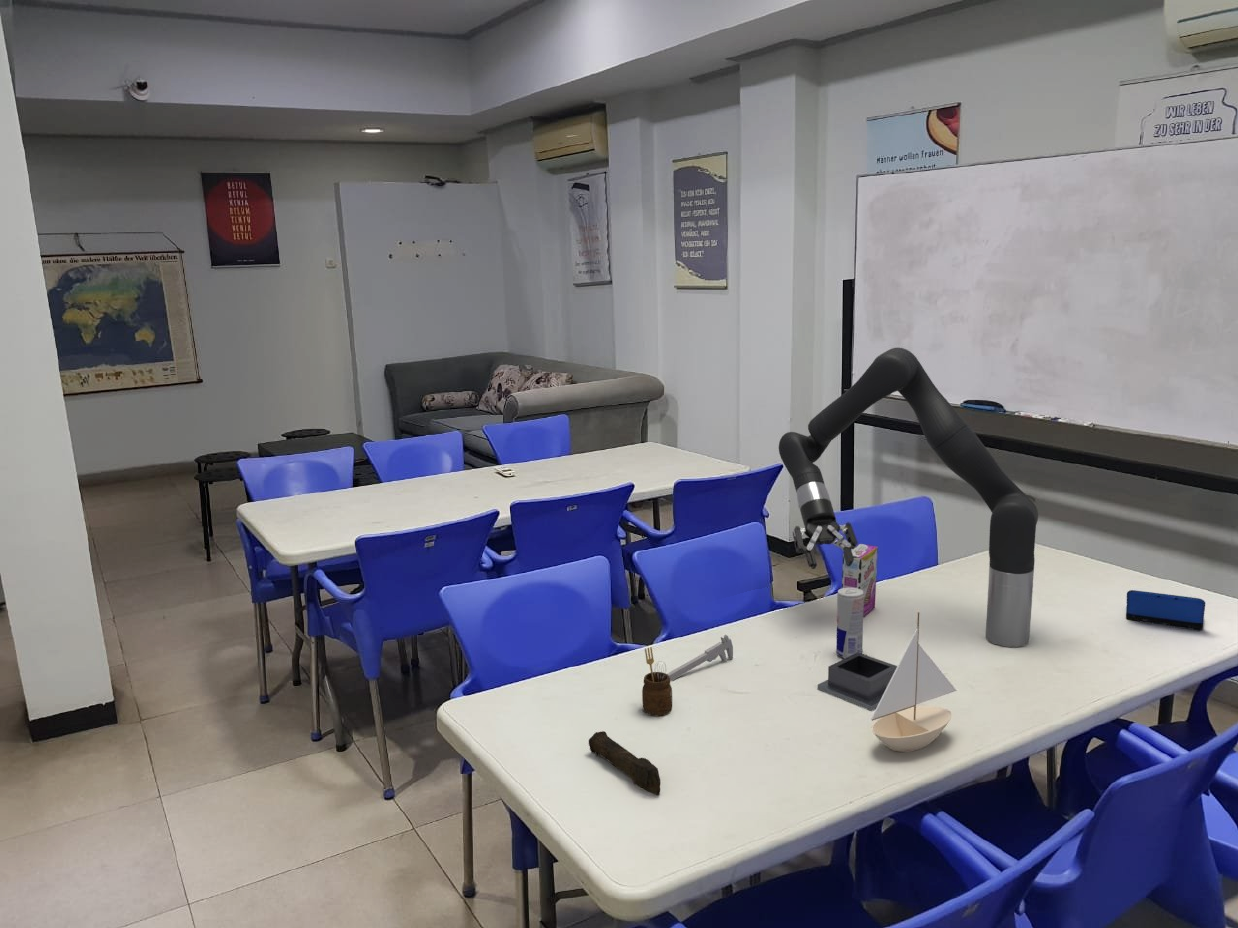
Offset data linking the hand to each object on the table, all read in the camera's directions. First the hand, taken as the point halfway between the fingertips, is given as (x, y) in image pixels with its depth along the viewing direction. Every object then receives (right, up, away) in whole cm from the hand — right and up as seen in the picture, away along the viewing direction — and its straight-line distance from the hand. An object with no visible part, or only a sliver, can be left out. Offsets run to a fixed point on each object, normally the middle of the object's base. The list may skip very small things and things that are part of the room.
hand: (832, 566), depth 213 cm
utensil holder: (-41, -26, -29) cm, 57 cm away
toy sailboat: (+5, -27, -44) cm, 52 cm away
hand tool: (-47, -31, -51) cm, 76 cm away
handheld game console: (+79, -14, +6) cm, 81 cm away
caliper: (-32, -22, -12) cm, 41 cm away
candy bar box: (+10, -14, +17) cm, 24 cm away
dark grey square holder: (+1, -23, -23) cm, 33 cm away
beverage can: (+2, -19, -7) cm, 20 cm away
